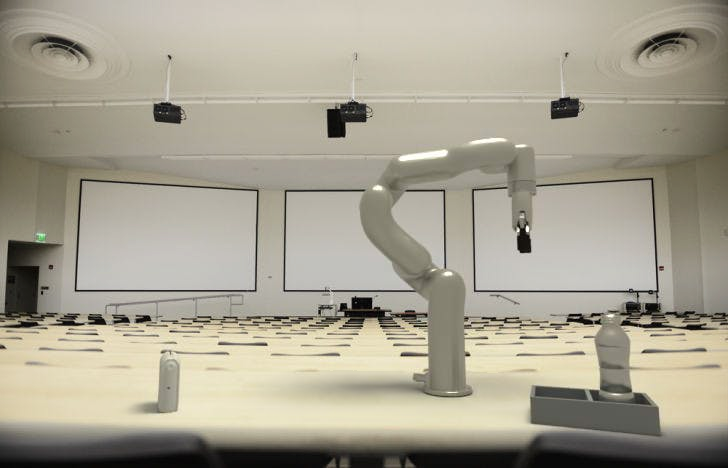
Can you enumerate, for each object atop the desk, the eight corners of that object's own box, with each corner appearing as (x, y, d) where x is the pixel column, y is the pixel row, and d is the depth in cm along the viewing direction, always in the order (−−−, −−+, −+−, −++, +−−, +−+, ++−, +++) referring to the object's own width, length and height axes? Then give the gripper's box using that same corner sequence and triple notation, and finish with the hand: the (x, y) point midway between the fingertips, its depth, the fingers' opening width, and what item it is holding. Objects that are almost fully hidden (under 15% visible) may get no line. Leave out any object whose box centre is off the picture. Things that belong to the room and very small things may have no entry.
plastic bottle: (642, 420, 89) (634, 315, 91) (603, 418, 90) (597, 315, 92) (630, 412, 95) (623, 313, 97) (595, 410, 96) (589, 313, 99)
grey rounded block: (179, 411, 100) (181, 353, 102) (157, 414, 99) (160, 355, 100) (176, 401, 110) (179, 348, 111) (157, 403, 108) (159, 349, 109)
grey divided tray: (531, 423, 91) (530, 396, 91) (532, 408, 102) (531, 385, 102) (660, 435, 83) (658, 406, 83) (647, 418, 94) (645, 392, 94)
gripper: (510, 196, 136) (512, 254, 134) (505, 184, 120) (507, 249, 118) (537, 194, 134) (539, 253, 132) (535, 182, 118) (538, 248, 116)
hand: (524, 251), depth 125 cm, fingers open, 9 cm apart
